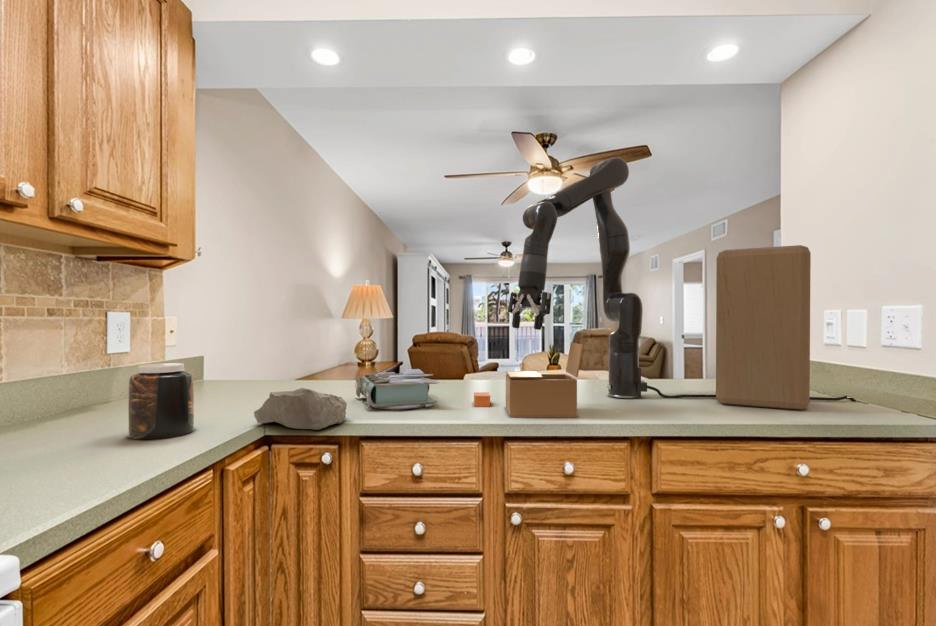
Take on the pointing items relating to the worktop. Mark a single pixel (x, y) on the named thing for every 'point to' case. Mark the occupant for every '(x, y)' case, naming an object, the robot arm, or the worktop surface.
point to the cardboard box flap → (574, 359)
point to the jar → (161, 401)
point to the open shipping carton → (540, 394)
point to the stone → (302, 409)
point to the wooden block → (763, 327)
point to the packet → (481, 399)
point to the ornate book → (396, 389)
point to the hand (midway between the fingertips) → (526, 328)
